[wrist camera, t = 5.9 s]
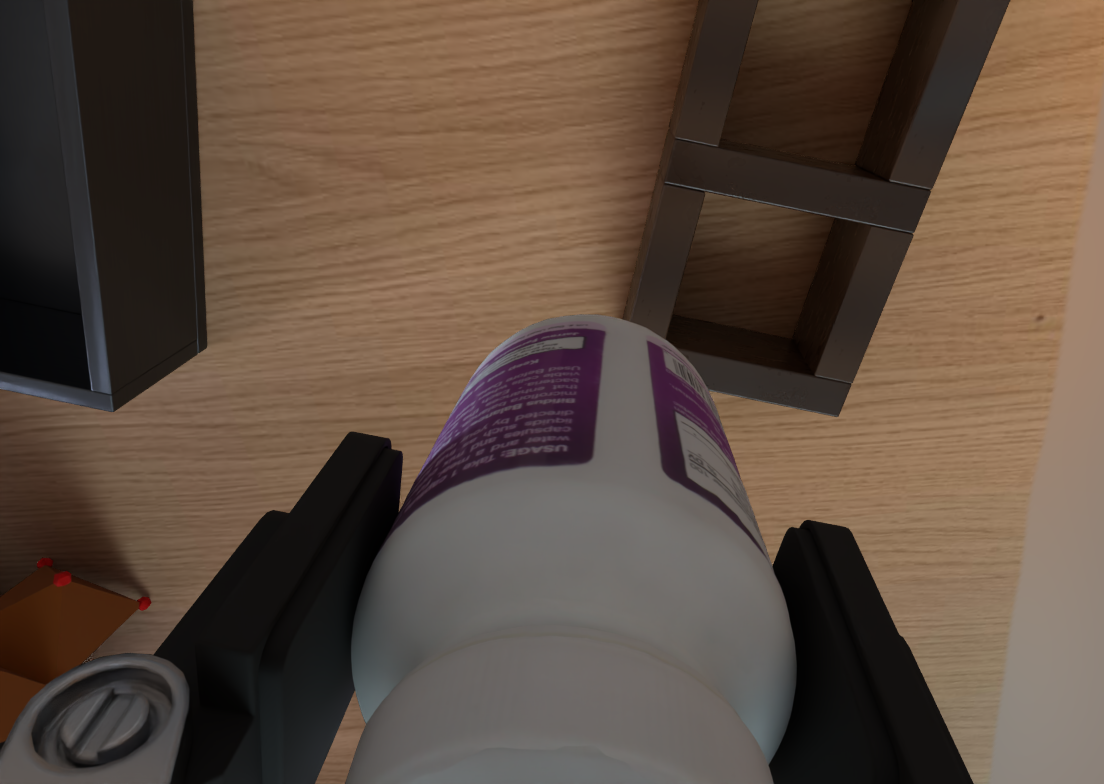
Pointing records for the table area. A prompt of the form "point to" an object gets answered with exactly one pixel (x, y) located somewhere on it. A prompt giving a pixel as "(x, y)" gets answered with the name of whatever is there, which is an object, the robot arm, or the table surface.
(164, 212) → the open box
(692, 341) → the rack
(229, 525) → the table surface
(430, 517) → the pill bottle
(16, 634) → the molecular model
